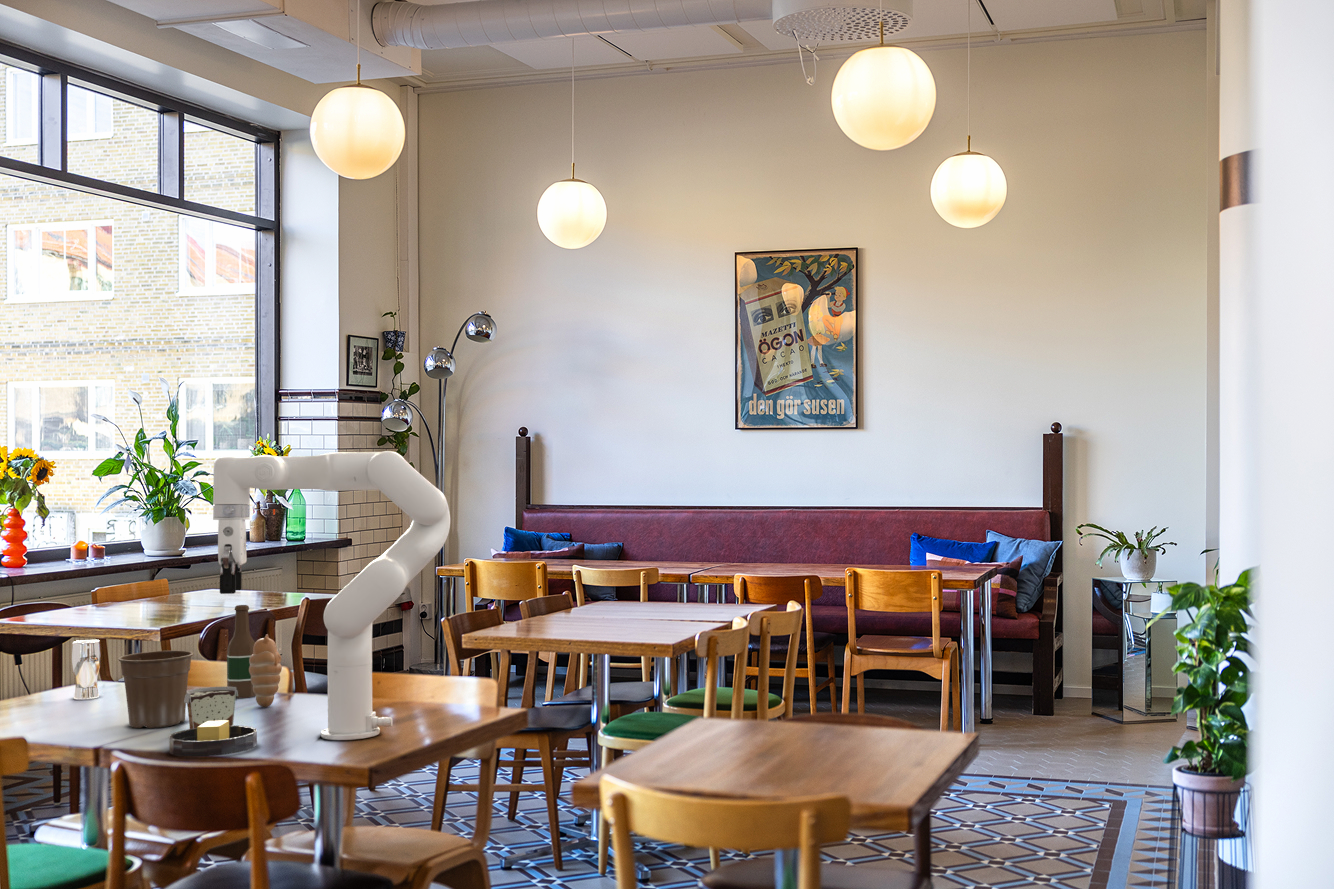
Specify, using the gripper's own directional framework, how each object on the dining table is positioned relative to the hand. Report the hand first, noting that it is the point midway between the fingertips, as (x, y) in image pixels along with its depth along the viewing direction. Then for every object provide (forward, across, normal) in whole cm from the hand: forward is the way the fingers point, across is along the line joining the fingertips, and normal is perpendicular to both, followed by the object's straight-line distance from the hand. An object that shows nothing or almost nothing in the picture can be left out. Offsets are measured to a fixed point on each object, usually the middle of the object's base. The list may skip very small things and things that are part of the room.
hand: (230, 591), depth 276 cm
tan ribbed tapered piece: (+32, +44, -3) cm, 55 cm away
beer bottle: (+32, +64, +5) cm, 72 cm away
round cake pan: (+32, -9, +2) cm, 34 cm away
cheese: (+32, -9, +2) cm, 33 cm away
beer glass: (+33, +75, +46) cm, 94 cm away
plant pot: (+33, +27, +20) cm, 47 cm away
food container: (+32, +10, +6) cm, 35 cm away
